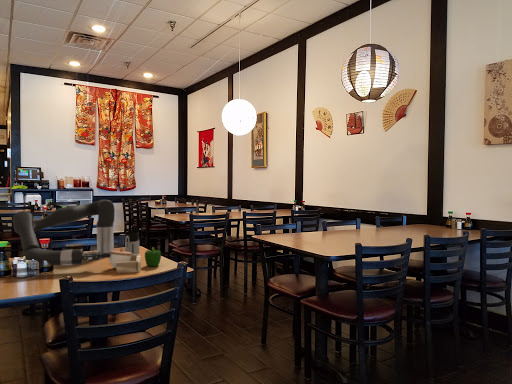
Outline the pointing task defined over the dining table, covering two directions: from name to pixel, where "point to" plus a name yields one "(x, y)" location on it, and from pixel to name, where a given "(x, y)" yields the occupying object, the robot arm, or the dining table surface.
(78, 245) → the coffee mug
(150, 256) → the bell pepper
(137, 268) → the cedar bay
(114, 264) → the lidded jar
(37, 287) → the dining table surface
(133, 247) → the electric kettle
